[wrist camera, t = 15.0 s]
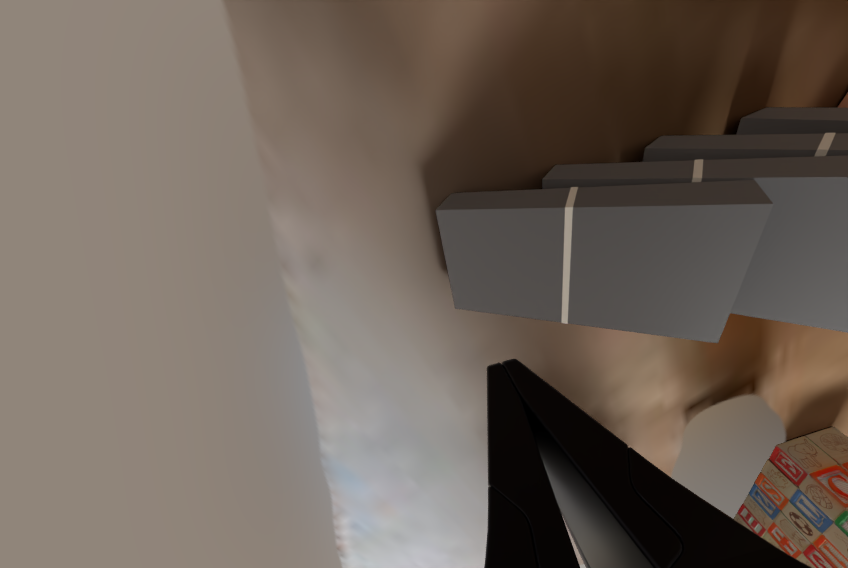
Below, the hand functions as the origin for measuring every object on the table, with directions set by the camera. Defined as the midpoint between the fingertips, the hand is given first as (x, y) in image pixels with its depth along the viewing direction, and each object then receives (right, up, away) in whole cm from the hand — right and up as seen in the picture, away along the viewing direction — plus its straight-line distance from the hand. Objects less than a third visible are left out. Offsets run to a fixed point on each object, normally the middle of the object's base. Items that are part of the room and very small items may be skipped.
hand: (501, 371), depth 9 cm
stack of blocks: (+41, -21, +31) cm, 55 cm away
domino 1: (-1, +4, +6) cm, 7 cm away
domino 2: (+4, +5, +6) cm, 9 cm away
